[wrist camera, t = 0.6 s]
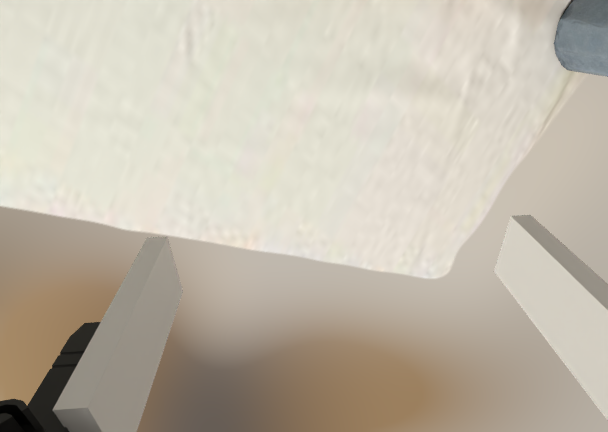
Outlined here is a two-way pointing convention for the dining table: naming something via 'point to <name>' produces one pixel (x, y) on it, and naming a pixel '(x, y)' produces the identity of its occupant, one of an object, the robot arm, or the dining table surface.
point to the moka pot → (584, 37)
